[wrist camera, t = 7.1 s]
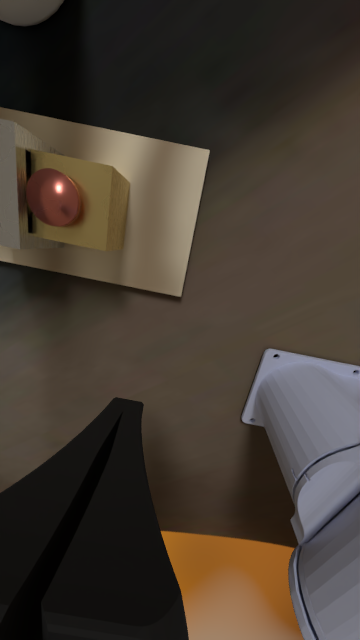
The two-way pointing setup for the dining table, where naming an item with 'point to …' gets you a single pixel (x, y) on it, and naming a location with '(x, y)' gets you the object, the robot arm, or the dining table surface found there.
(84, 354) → the dining table surface
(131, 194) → the board
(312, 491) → the robot arm
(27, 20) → the milk bottle
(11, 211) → the grey rectangular block
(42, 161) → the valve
